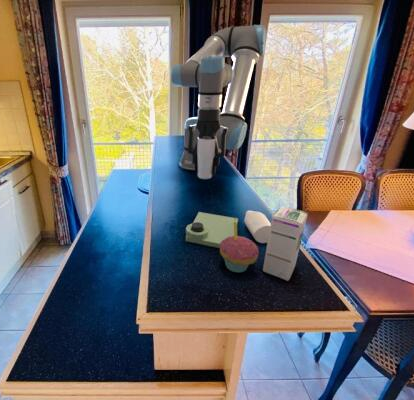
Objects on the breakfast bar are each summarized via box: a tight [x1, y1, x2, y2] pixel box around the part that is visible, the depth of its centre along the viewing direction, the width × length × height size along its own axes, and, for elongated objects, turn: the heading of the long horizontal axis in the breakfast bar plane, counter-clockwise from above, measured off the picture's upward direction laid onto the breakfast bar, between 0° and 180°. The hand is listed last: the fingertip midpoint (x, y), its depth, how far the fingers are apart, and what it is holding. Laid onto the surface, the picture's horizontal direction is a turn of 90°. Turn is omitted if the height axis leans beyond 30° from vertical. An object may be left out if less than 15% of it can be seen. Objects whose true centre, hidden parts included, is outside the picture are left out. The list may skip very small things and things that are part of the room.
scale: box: [184, 211, 239, 249], centre depth 74 cm, size 15×12×3 cm
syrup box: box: [262, 205, 308, 282], centre depth 57 cm, size 6×6×14 cm
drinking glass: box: [197, 136, 217, 180], centre depth 96 cm, size 7×7×15 cm
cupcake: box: [219, 217, 259, 273], centre depth 59 cm, size 9×8×12 cm
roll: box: [243, 210, 271, 244], centre depth 74 cm, size 6×12×6 cm, turn 2°
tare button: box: [191, 222, 203, 232], centre depth 71 cm, size 3×3×2 cm
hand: (205, 172), depth 99 cm, fingers closed on drinking glass, 6 cm apart
